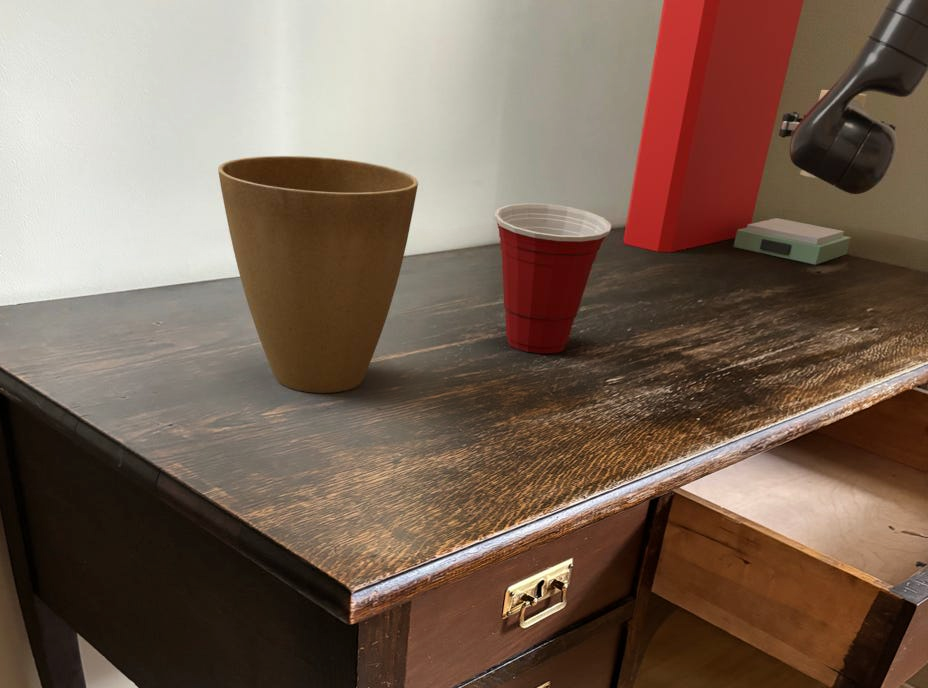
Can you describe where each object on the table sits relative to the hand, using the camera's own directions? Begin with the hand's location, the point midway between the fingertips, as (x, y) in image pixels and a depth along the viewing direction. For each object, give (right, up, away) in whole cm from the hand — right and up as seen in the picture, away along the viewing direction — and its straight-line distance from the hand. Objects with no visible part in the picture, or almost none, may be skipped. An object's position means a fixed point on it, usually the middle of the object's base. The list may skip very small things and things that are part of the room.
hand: (834, 125), depth 129 cm
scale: (+1, -9, +18) cm, 20 cm away
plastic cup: (-43, -40, -35) cm, 68 cm away
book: (-15, -7, +20) cm, 26 cm away
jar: (-1, -6, +1) cm, 6 cm away
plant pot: (-63, -47, -48) cm, 92 cm away
